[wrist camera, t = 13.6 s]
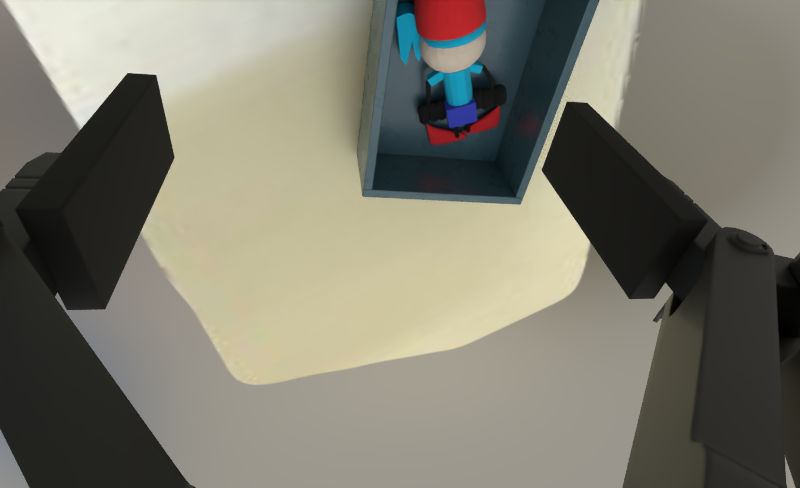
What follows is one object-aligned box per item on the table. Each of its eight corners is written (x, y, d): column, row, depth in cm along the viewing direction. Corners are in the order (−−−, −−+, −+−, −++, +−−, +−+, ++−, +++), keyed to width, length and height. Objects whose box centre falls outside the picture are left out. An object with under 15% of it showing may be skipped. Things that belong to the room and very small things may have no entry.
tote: (387, -140, 28) (403, -139, 23) (583, -101, 31) (635, -92, 26) (356, 155, 41) (362, 196, 36) (497, 164, 44) (520, 205, 39)
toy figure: (501, 111, 41) (489, -80, 29) (515, 146, 38) (508, -52, 26) (418, 131, 42) (376, -47, 30) (426, 167, 39) (381, -15, 27)
